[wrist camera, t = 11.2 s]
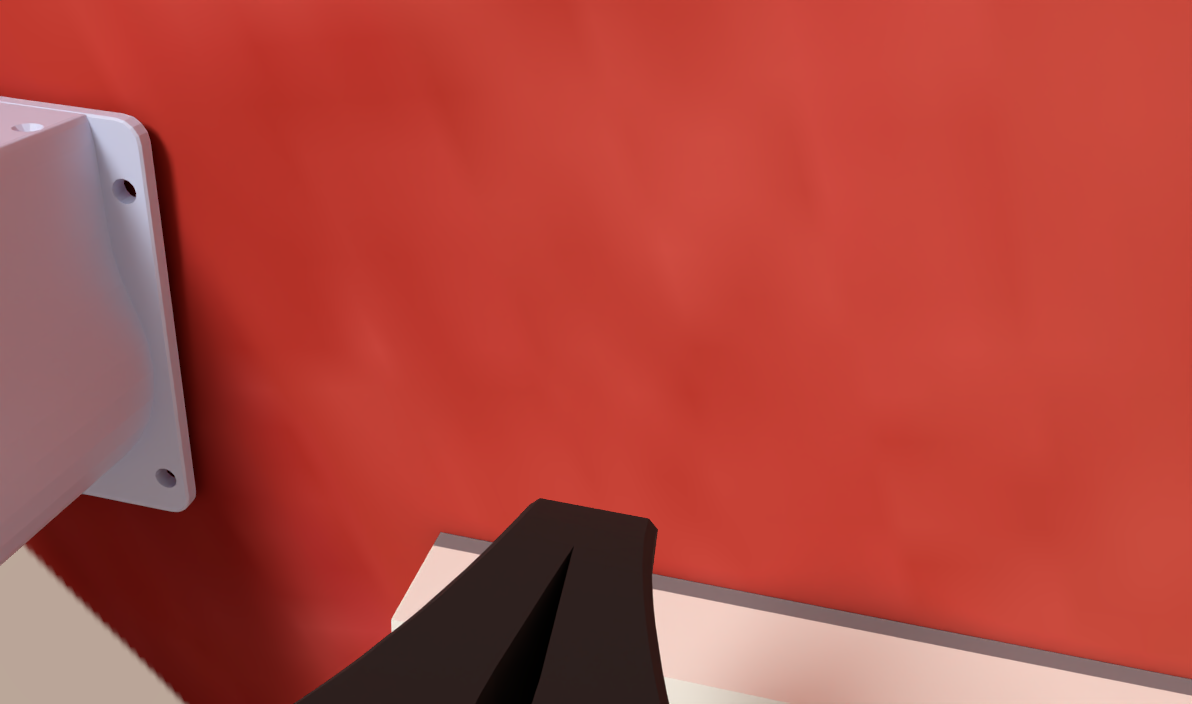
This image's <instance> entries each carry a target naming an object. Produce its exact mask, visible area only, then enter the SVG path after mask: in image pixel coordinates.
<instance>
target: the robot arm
mask: <svg viewBox="0 0 1192 704" xmlns="http://www.w3.org/2000/svg"><path fill="white" fill-rule="evenodd" d="M124 180H127V181H129V182H130V183H131V184H132V185H133V186H134V188H135V191H136V197H134V196H132V195H131V194H130V193H129V192H128V191H127V190H126V188H125V185H124ZM167 470H169V471H170V472H172V473H173V474H174V476H175V477H172V476H171V475H170V474H169V473H168V472H167ZM81 494H86V495H91V496H96V497H101V498H106V499H111V500H116V501H121V502H126V503H131V504H136V505H141V506H146V507H151V508H156V509H161V510H166V511H171V512H181V511H183V510H185V509H186V508H187V507H188V506H189V505H190V504H191V503H192V502H193V500H194V499H195V497H196V487H195V479H194V472H193V464H192V456H191V449H190V441H189V433H188V425H187V418H186V410H185V402H184V395H183V387H182V379H181V372H180V364H179V356H178V348H177V341H176V333H175V325H174V318H173V310H172V302H171V295H170V287H169V279H168V271H167V264H166V256H165V248H164V241H163V233H162V225H161V217H160V210H159V202H158V194H157V187H156V179H155V171H154V164H153V156H152V148H151V141H150V138H149V135H148V132H147V130H146V129H145V127H144V126H143V124H142V123H141V122H139V121H138V120H137V119H136V118H134V117H133V116H130V115H127V114H123V113H116V112H109V111H102V110H95V109H87V108H80V107H73V106H66V105H59V104H52V103H44V102H37V101H30V100H23V99H16V98H9V97H1V96H0V565H1V564H3V563H4V562H5V561H6V560H7V559H8V558H9V557H10V556H12V555H13V554H14V553H15V552H16V551H17V550H18V549H20V548H21V547H22V546H23V545H24V544H25V543H26V542H28V541H29V540H30V539H31V538H32V537H33V536H34V535H35V534H37V533H38V532H39V531H40V530H41V529H42V528H43V527H45V526H46V525H47V524H48V523H49V522H50V521H51V520H52V519H54V518H55V517H56V516H57V515H58V514H59V513H60V512H62V511H63V510H64V509H65V508H66V507H67V506H68V505H70V504H71V503H72V502H73V501H74V500H75V499H76V498H77V497H79V496H80V495H81ZM657 532H658V529H657V528H656V527H655V526H654V524H653V523H652V522H651V521H650V519H648V518H642V517H637V516H632V515H626V514H621V513H616V512H610V511H605V510H600V509H594V508H589V507H584V506H579V505H573V504H568V503H563V502H557V501H552V500H547V499H541V498H540V499H538V500H536V501H535V502H533V503H532V504H530V505H529V506H528V507H527V508H526V509H525V510H524V511H523V512H522V513H521V514H520V516H519V517H518V518H517V519H516V520H515V521H514V522H513V523H512V524H511V525H510V526H509V527H508V528H507V529H506V530H505V531H504V532H503V533H502V534H501V535H500V536H499V537H498V538H497V539H496V540H495V541H494V542H493V543H492V544H491V545H490V546H489V547H488V548H487V549H486V550H485V551H484V552H483V553H482V554H481V555H480V556H479V557H477V558H476V559H475V560H474V561H473V562H472V563H471V564H470V565H469V566H468V567H467V568H466V569H465V570H464V571H463V572H461V573H460V574H459V575H458V576H457V577H456V578H455V579H454V580H453V581H451V582H450V583H449V584H448V585H447V586H446V587H445V588H444V589H442V590H441V591H440V592H439V593H438V594H437V595H436V596H435V597H434V598H432V599H431V600H430V601H429V602H428V603H427V604H426V605H425V606H423V607H422V608H421V609H420V610H419V611H417V612H416V613H415V614H414V615H413V616H411V617H410V618H409V619H408V620H406V621H405V622H404V623H403V624H401V625H400V626H399V627H398V628H396V629H395V630H394V631H393V632H391V633H390V634H389V635H388V636H386V637H385V638H384V639H383V640H381V641H380V642H379V643H377V644H376V645H375V646H374V647H372V648H371V649H370V650H369V651H367V652H366V653H365V654H364V655H362V656H361V657H360V658H358V659H357V660H356V661H354V662H353V663H352V664H350V665H349V666H347V667H346V668H345V669H343V670H342V671H341V672H339V673H338V674H336V675H335V676H334V677H332V678H331V679H329V680H328V681H327V682H325V683H324V684H322V685H321V686H319V687H318V688H317V689H315V690H314V691H312V692H310V693H309V694H307V695H306V696H304V697H303V698H301V699H300V700H298V701H297V702H295V703H294V704H669V700H668V696H667V691H666V686H665V680H664V675H663V670H662V664H661V657H660V651H659V644H658V637H657V631H656V624H655V614H654V604H653V586H652V571H653V563H654V555H655V547H656V539H657Z"/></svg>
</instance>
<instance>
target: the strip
mask: <svg viewBox="0 0 1192 704" xmlns="http://www.w3.org/2000/svg"><path fill="white" fill-rule="evenodd" d="M492 543H493V542H488V541H483V540H477V539H472V538H467V537H462V536H457V535H452V534H447V533H442V532H440V534H439V536H438V538H437V540H436V541H435V543H434V545H433V547H432V548H431V550H430V552H429V554H428V555H427V557H426V559H425V561H424V563H423V564H422V566H421V568H420V570H419V571H418V573H417V575H416V577H415V578H414V580H413V582H412V584H411V585H410V587H409V589H408V591H407V593H406V594H405V596H404V598H403V600H402V601H401V603H400V605H399V607H398V608H397V610H396V612H395V614H394V615H393V617H392V619H391V625H392V632H393V631H394V630H395V629H396V628H398V627H399V626H400V625H401V624H403V623H404V622H405V621H406V620H408V619H409V618H410V617H411V616H413V615H414V614H415V613H416V612H417V611H419V610H420V609H421V608H422V607H423V606H425V605H426V604H427V603H428V602H429V601H430V600H431V599H432V598H434V597H435V596H436V595H437V594H438V593H439V592H440V591H441V590H442V589H444V588H445V587H446V586H447V585H448V584H449V583H450V582H451V581H453V580H454V579H455V578H456V577H457V576H458V575H459V574H460V573H461V572H463V571H464V570H465V569H466V568H467V567H468V566H469V565H470V564H471V563H472V562H473V561H474V560H475V559H476V558H477V557H479V556H480V555H481V554H482V553H483V552H484V551H485V550H486V549H487V548H488V547H489V546H490V545H491V544H492ZM652 586H653V604H654V614H655V624H656V631H657V637H658V644H659V651H660V657H661V664H662V670H663V675H664V680H665V686H666V691H667V696H668V700H669V704H1192V679H1187V678H1182V677H1176V676H1171V675H1166V674H1161V673H1156V672H1151V671H1146V670H1141V669H1136V668H1131V667H1125V666H1120V665H1115V664H1110V663H1105V662H1100V661H1095V660H1090V659H1085V658H1080V657H1074V656H1069V655H1064V654H1059V653H1054V652H1049V651H1044V650H1039V649H1034V648H1029V647H1023V646H1018V645H1013V644H1008V643H1003V642H998V641H993V640H988V639H983V638H977V637H972V636H967V635H962V634H957V633H952V632H947V631H942V630H937V629H932V628H926V627H921V626H916V625H911V624H906V623H901V622H896V621H891V620H886V619H881V618H875V617H870V616H865V615H860V614H855V613H850V612H845V611H840V610H835V609H830V608H824V607H819V606H814V605H809V604H804V603H799V602H794V601H789V600H784V599H778V598H773V597H768V596H763V595H758V594H753V593H748V592H743V591H738V590H733V589H727V588H722V587H717V586H712V585H707V584H702V583H697V582H692V581H687V580H682V579H676V578H671V577H666V576H661V575H656V574H652Z"/></svg>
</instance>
